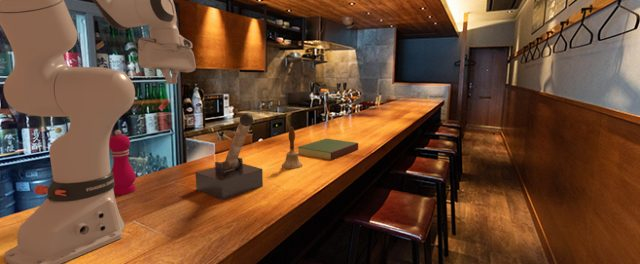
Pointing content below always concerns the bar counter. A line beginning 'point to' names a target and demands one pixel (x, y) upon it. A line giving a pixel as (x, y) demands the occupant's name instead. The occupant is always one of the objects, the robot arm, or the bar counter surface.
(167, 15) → the robot arm
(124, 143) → the pepper mill
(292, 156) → the hand bell
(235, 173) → the base
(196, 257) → the bar counter surface
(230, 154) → the lever
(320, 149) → the hardcover book
